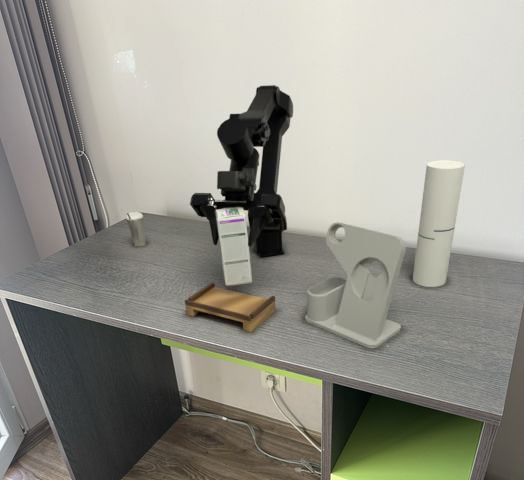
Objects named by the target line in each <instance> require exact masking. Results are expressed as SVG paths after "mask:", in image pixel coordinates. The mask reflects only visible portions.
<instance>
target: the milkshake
mask: <svg viewBox="0 0 524 480" xmlns="http://www.w3.org/2000/svg"><path fill="white" fill-rule="evenodd" d="M125 219H126V222H127V225H128V229H129V231H130V236H131V238H132V242H133V246H134V247H137V248H138V247H144V246H146V245H147V242H146V235H145V234H146V233H145V225H144V215H143V214H142V213H141V212H140V211H131V212H127V213H126V215H125Z"/></svg>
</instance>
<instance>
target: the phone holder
mask: <svg viewBox="0 0 524 480" xmlns="http://www.w3.org/2000/svg"><path fill="white" fill-rule="evenodd" d="M341 228H342V229H343V230H344V237H343V239H342V240H341V241H338V240H337V238H336V237H337V236H336V233H337V231H338V230H339V229H341ZM325 243H326V245H327V246H328V248H329V250H330V251H331V252H332V254H333V256H334V257H335V259H336V260H337V261H338V263H339V265H340V266H341V268H342V269H343V270H344V273H345V274H346V279H345V278H344V277H340V276H331V277H328V278H326V279H324V280H323V281H320V282H319V283H317V284H315V285H313V286H311V287H309V288H308V289H307V290H306V291H307V292H306V314H305V315H304V321H305V322H307V323H308V324H310V325H313V326H316V327H318V328H320V329H322V330H325V331H327V332H329V333H331V334H334V335H337V336H339V337H341V338H343V339H346V340H348V341H350V342H353V343H355V344H357V345H359V346H362V347H365V348H366V349H376V348H378V347H380V346H381V345H383V344H384V343H385V342H387V341H388V340H390V339H391V338H393V337H394V336H395V335H397V334H399V333H400V331H401V329H402V325H401V324H400V323H398V322H396V321H393V320H390V319H388V318H387V316H388V313H389V309H390V305H391V303H392V299H393V296H394V292H395V289H396V285H397V282H398V278H399V275H400V272H401V269H402V264H403V261H404V258H405V255H406V250H407V247H406V246H407V245H406V242H405V240H404V239H403V238H401V237H400V236H396V235H393V234H389V233H384V232H380V231H377V230H373V229H370V228H369V229H368V228H364V227H360V226H356V225H353V224H347V223H343V222H333V223H332V224H331V225H330V226H329V227H328V229H327V231H326V236H325ZM374 262H378V263H380V266H381V272H380V273H379V275H377V276H375V275H372V273H371V271H370V267H371V265H372V263H374Z"/></svg>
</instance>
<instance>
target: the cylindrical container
mask: <svg viewBox="0 0 524 480" xmlns="http://www.w3.org/2000/svg"><path fill="white" fill-rule="evenodd" d="M465 168H466V164H465V163H464V162H463V161H458V160H452V159H451V160H450V159H439V160H432V161H427V162H426V166H425V175H424V183H423V192H422V201H421V208H420V215H419V225H418V233H417V239H416V240H417V241H416V248H415V257H414V265H413V272H412V274H413V275H412V281H413V282H414V283H415V284H416V285H418V286H422V287H427V288H437V287H442V286H443V285H445V284H446V282H447V276H448V271H449V264H450V258H451V254H452V253H451V252H452V246H453V240H454V233H455V228H456V222H457V216H458V209H459V205H460V204H459V203H460V198H461V192H462V184H463V180H464V173H465V172H464V171H465Z"/></svg>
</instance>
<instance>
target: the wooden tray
mask: <svg viewBox="0 0 524 480" xmlns="http://www.w3.org/2000/svg"><path fill="white" fill-rule="evenodd" d="M184 305H185V312H186V316H188V317H192V318H194V317H196V316H197V315H199V314H200V313H207V314H210V315H214V316H217V317H221V318H225V319H228V320H233V321H236V322H241V323H242V329H243V332H246V333H253V332H254V331H255V330H256V329H257V328H258V327H260V326H261V325H262V324H263V323H264V322H265V321H267V320H268V319H269V318H270V317H271V316H272V315H273V314H275V313H276V311H277V310H276V309H277V308H276V296H275V295H271V296H270V297H269V298H265V297H260V296H256V295H252V294H247V293H244V292H238V291H235V290H230V289H226V288H222V287H216V284H215V282H210V283H208V284H207V285H206V286H204V287H203V288H201V289H200V290H198V291H196V292H194V293H193V294H192V295H190V296H189V297H188V298H187V299H185V300H184Z"/></svg>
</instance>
